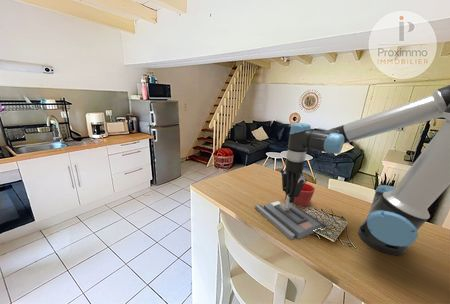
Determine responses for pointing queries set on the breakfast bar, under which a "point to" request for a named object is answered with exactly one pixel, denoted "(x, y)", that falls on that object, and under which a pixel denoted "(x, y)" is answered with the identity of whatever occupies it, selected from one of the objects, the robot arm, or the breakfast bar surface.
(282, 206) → the lever
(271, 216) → the grey long bar
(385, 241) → the robot arm
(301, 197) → the flower pot
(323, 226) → the long gray bar
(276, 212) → the breaker panel
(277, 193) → the breakfast bar surface
